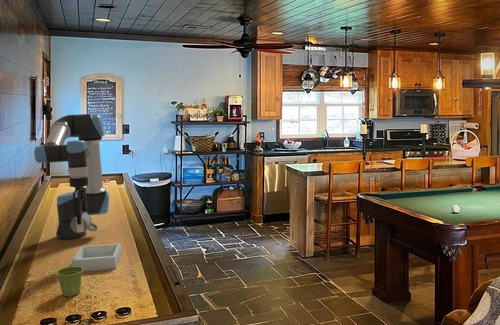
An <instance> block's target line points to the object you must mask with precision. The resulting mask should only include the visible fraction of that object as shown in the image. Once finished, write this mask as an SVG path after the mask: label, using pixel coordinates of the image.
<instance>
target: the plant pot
mask: <svg viewBox="0 0 500 325" xmlns="http://www.w3.org/2000/svg"><path fill="white" fill-rule="evenodd" d="M82 271H83V268H82V267H79V266H72V265H71V266H67V267H66V266H65V267H62V268H60V269H58V270H56V271H55V275H56V276H57V278H58V281H59V286H60V290H61V295H62V296H63V297H66V296H68V297H73V296H75V295H79V294H80V293H81V289H82V288H81V286H82V285H81V284H82V275H83V272H84V271H83V272H82Z"/></svg>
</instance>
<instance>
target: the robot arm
mask: <svg viewBox="0 0 500 325" xmlns="http://www.w3.org/2000/svg"><path fill="white" fill-rule="evenodd" d="M104 136H105V128H104V123H103V118H102V117H101V115H100V114H97V113H83V114H67V115H64V116H61V117H60V118H58V119H56V120H55V121H54V122H53V123H52V124H51V126H50V127H49V134H48V136H47V138H46V141H45V143H44V144H43V145H37V146H35V148H34V152H33V153H34V154H33V155H34V160H35V162H36V163H37V164H38V163H39V164H41V163H42V164H44V163H45V164H47V163H61V162H64V163H65V162H67V167H68V169H66V172H68V177H69V179H68V181H69V187H70V188H74V191H70V192H65V193H61V194H60V195H57V198H56V206H57V207H56V209H57V217H58V218H57V219H58V220H57V221H58V225H57V228H56V232H55V237H56V239H57V240H75V239H79V238H82V237H85V236H86V235H87V230H86V231H84V226H83V216H82V212H84V213H87V214H88V215H90V216H96V215H98V216H100V215H105V214H107V213H108V212H109V207H110V192H108V191H107V188H106V187H104V185H103V184H104V183H103V172H102V171H103V170H102V161H101V160H102V159H101V158H102V157H101V146H100V142H101V141H102V140H103V137H104ZM68 138H78V139H77V140H68V141H67V142H66V139H68ZM65 142H66V144H64V143H65ZM74 217H76V227H77V232H82V233H75V232H74V231H72V229H71V227H70V223H71V221H72V219H73V218H74Z"/></svg>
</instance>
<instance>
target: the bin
mask: <svg viewBox="0 0 500 325" xmlns="http://www.w3.org/2000/svg"><path fill="white" fill-rule="evenodd" d="M121 256H122V243H111V244H110V243H109V244H108V243H107V244H97V245H84V246H83V245H82V246H80V247H79V249H78V250H77V252H76V254H75V255H74V257H73V258H72V259H71V266H79V267H82V268H83V271H82V273H83V272H93V271H95V272H96V271H103V270H106V271H107V270H116V269H117V267H118V265H119V262H120V259H121Z"/></svg>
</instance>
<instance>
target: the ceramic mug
mask: <svg viewBox="0 0 500 325" xmlns="http://www.w3.org/2000/svg"><path fill="white" fill-rule="evenodd" d="M82 216H83V226H84V231H86V232H87V231H90V232H97V231H98V228H99V226H98V225H97V224H96V223H93V220H92V217H91V215H88V214H87V213H84V212H82ZM70 227H71V229H72V231H74V232H75V233H82V232H77V227H76V217H74V218H73V219H72V221H71V223H70Z"/></svg>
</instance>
